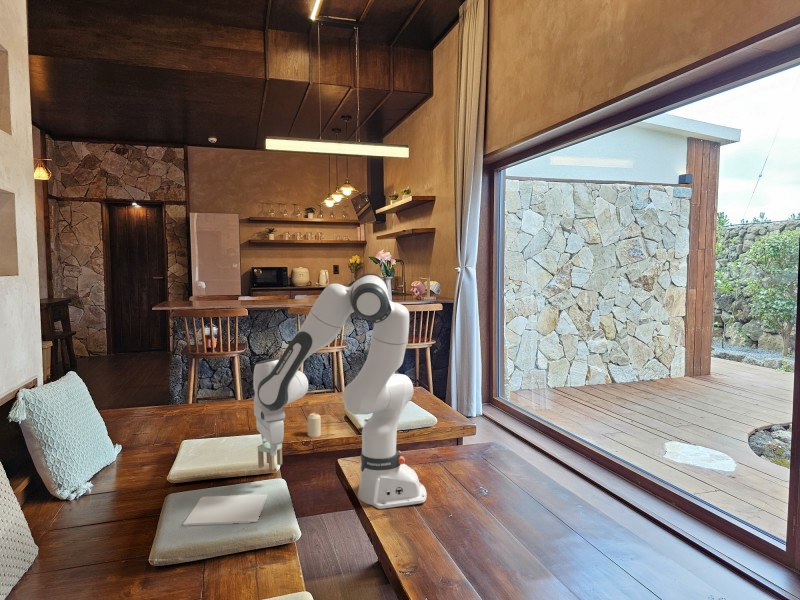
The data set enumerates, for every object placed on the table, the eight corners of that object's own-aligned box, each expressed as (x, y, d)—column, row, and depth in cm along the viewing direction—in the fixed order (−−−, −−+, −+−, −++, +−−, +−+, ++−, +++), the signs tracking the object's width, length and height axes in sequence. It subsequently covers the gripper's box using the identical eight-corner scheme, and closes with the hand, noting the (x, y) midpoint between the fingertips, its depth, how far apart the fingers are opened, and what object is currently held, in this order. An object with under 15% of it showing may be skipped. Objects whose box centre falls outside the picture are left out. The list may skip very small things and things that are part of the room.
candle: (318, 439, 203) (317, 416, 202) (305, 438, 204) (305, 415, 203) (322, 435, 208) (322, 412, 207) (310, 434, 209) (310, 411, 208)
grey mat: (267, 496, 152) (267, 494, 152) (257, 522, 136) (257, 520, 136) (201, 498, 150) (201, 496, 150) (183, 525, 134) (183, 523, 134)
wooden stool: (282, 463, 161) (281, 442, 161) (272, 469, 156) (271, 448, 156) (269, 461, 163) (268, 440, 163) (258, 467, 158) (257, 446, 158)
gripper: (251, 402, 166) (252, 442, 167) (266, 417, 148) (267, 462, 149) (269, 400, 169) (270, 439, 170) (286, 414, 151) (287, 458, 152)
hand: (269, 450), depth 159 cm, fingers closed on wooden stool, 8 cm apart
